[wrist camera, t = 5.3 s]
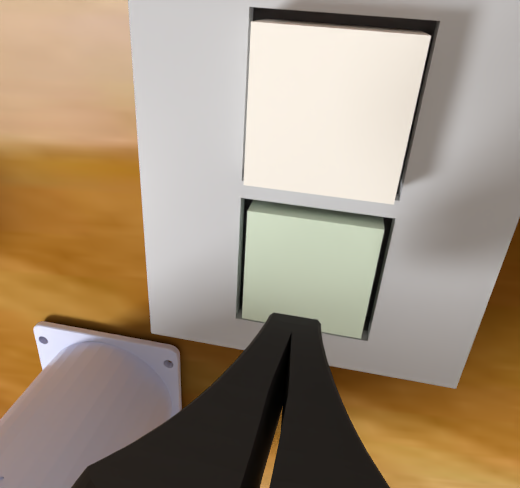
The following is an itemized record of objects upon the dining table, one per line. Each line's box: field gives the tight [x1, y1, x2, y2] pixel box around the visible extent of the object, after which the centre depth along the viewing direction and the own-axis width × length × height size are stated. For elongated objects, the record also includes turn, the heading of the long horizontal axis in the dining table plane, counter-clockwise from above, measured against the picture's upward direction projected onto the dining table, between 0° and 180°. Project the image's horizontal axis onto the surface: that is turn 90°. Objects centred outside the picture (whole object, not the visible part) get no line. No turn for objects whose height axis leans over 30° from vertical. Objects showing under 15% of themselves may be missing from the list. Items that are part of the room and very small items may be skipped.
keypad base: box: [128, 0, 520, 389], centre depth 15 cm, size 19×12×3 cm, turn 177°
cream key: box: [243, 19, 431, 205], centre depth 13 cm, size 4×4×2 cm
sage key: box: [242, 200, 384, 339], centre depth 17 cm, size 4×4×2 cm
